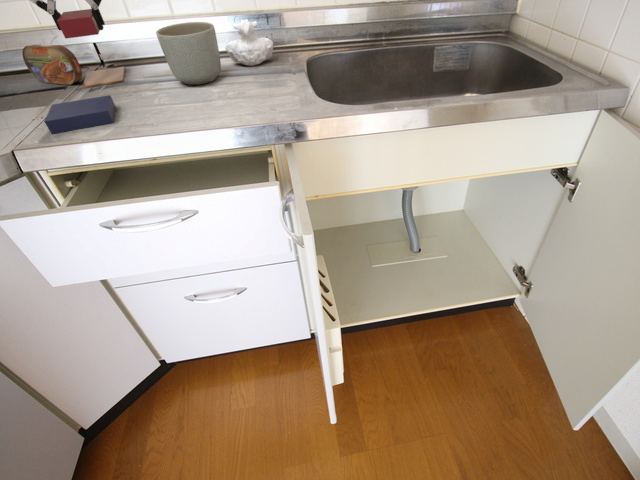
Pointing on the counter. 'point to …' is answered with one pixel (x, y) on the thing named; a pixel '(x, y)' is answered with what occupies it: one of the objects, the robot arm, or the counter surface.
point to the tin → (52, 64)
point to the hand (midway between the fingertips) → (83, 30)
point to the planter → (191, 51)
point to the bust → (249, 45)
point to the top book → (78, 23)
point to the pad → (104, 77)
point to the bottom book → (80, 114)
